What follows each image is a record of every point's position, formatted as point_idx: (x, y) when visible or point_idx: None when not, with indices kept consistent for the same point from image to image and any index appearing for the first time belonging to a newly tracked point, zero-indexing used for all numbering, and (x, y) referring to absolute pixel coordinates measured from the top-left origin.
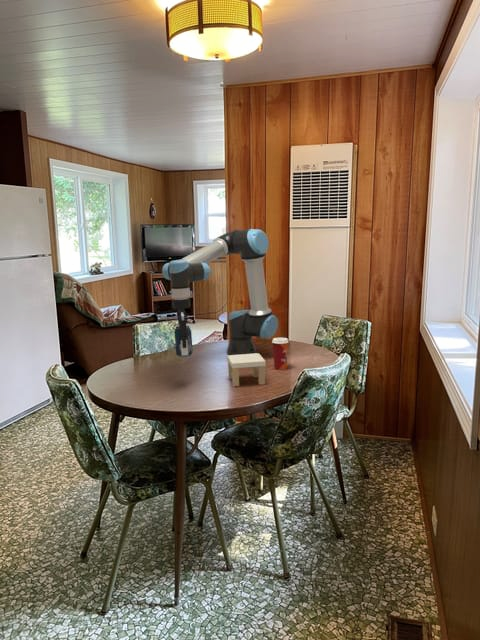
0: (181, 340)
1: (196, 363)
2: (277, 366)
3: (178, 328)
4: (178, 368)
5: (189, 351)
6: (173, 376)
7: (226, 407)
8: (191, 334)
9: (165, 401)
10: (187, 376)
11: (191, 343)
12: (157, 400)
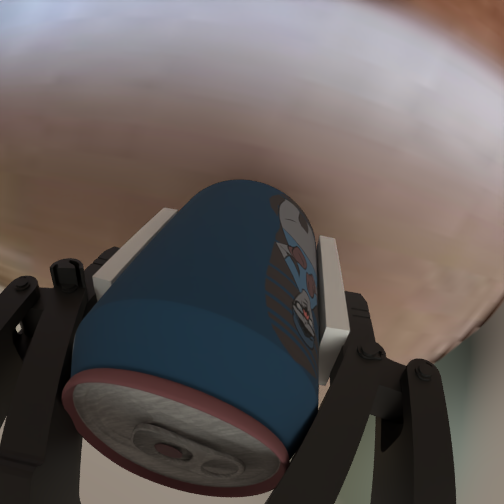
0: (329, 376)
1: (8, 98)
2: None
3: (188, 473)
4: (42, 168)
5: (310, 229)
6: (130, 203)
7: None
8: (228, 273)
9: (428, 296)
10: (145, 146)
11: (278, 228)
12: (403, 315)
